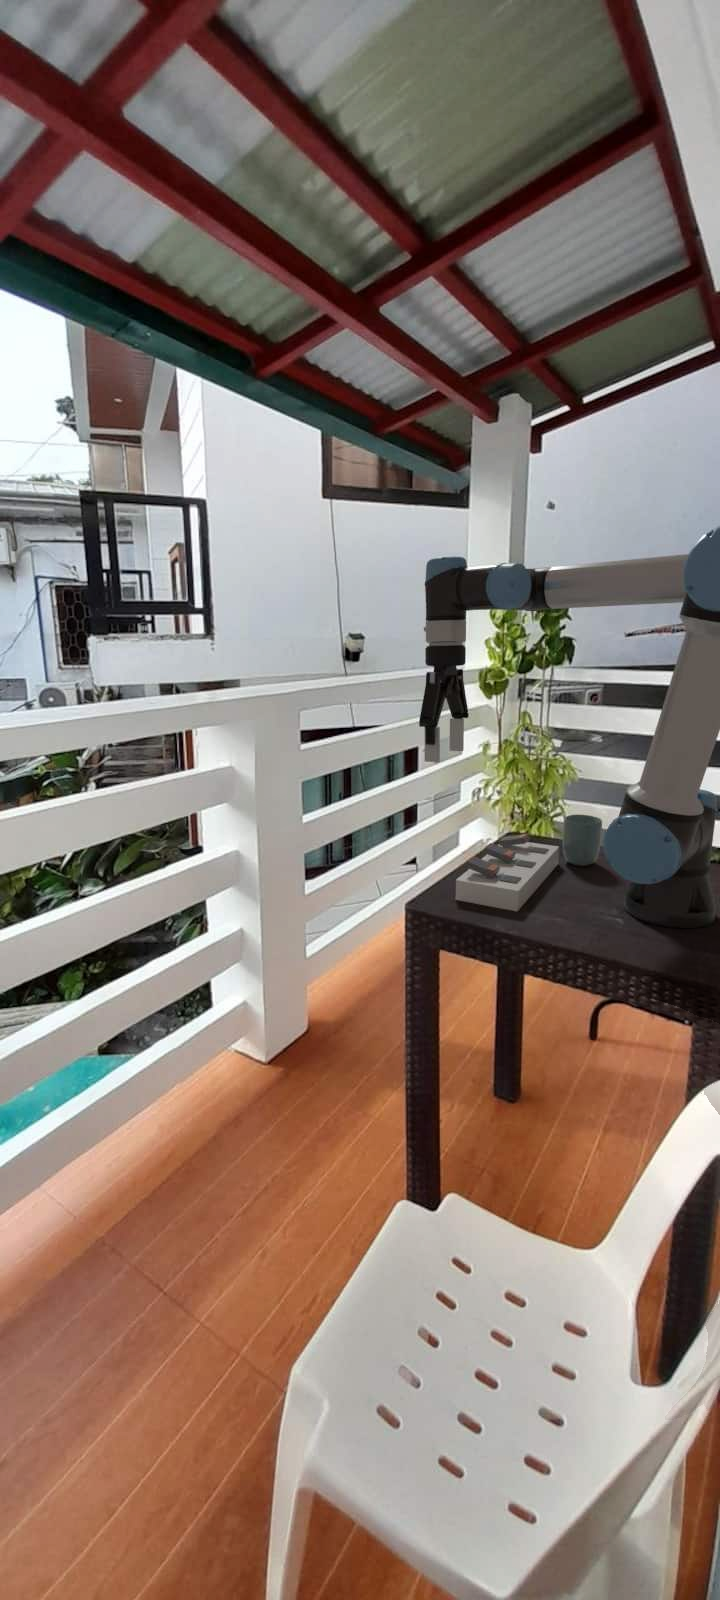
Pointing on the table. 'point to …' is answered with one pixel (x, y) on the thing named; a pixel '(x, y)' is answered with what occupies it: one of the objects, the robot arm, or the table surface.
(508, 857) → the rocker
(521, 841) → the rocker
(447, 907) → the table surface
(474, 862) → the rocker
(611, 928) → the table surface
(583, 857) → the cup
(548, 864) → the power strip
